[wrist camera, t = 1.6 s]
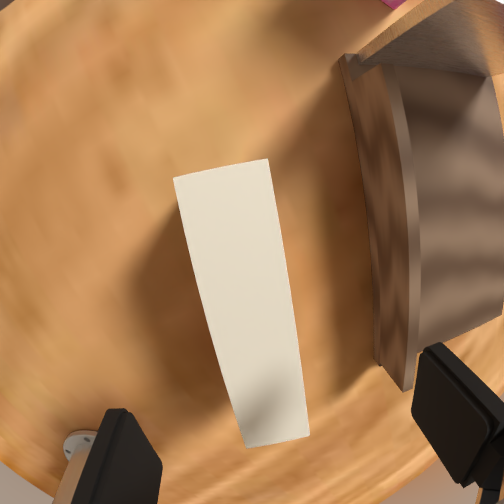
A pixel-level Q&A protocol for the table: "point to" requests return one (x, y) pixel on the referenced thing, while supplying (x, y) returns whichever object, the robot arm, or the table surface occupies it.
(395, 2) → the gum box
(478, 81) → the walnut shelf
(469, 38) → the bookend
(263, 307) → the cream book
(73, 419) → the table surface
